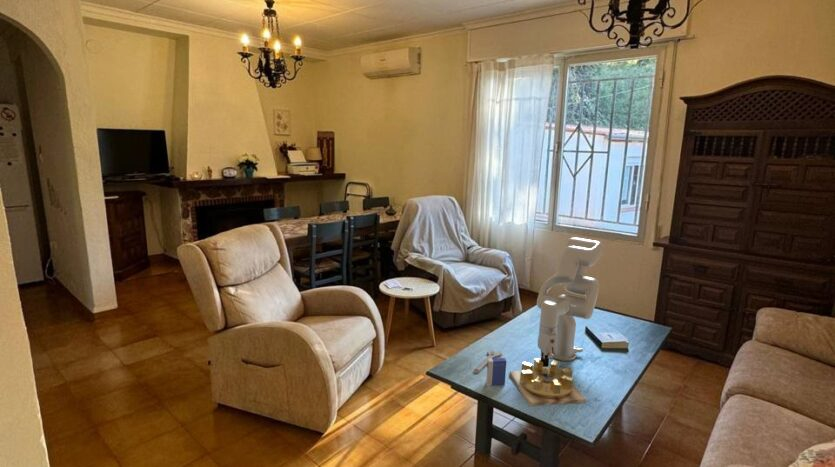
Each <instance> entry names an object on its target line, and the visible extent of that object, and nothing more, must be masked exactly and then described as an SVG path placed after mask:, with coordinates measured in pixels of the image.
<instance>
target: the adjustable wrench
mask: <svg viewBox="0 0 835 467" xmlns="http://www.w3.org/2000/svg"><path fill="white" fill-rule="evenodd" d="M486 354H487V357H486V358H485V359H484V360H482V361H481V362H480V363H479V364H478V365H477V366H476V367H475V368H474V369H473V373H474V374H478V375H479V373H481V372H482V370H484V369H485V368H486V367H487V362H488V358H502V357H503V356H502V355H503V353H502V350H500V349H499V350H498V352H494V349H490V350H488V351H487V352H486Z"/></svg>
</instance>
